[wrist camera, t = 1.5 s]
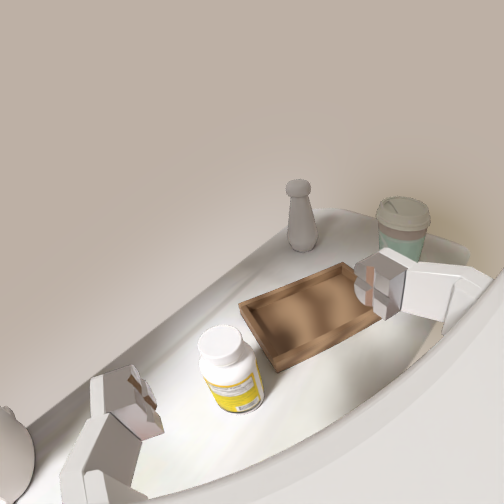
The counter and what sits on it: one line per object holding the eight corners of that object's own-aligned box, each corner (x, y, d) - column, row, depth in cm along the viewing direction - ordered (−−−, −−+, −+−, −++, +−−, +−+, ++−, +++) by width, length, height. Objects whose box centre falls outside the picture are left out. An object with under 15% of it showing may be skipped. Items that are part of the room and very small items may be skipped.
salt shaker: (309, 236, 58) (304, 174, 51) (324, 248, 53) (320, 181, 46) (283, 244, 56) (275, 180, 50) (296, 258, 52) (289, 189, 45)
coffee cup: (381, 255, 48) (385, 191, 42) (425, 267, 43) (435, 201, 37) (364, 281, 43) (367, 210, 37) (413, 296, 37) (427, 223, 31)
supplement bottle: (228, 372, 32) (207, 314, 27) (271, 382, 30) (259, 323, 25) (208, 409, 28) (179, 355, 23) (254, 422, 26) (236, 370, 21)
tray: (277, 373, 31) (275, 363, 30) (240, 314, 41) (238, 303, 40) (392, 312, 36) (394, 301, 35) (342, 272, 46) (342, 261, 45)
